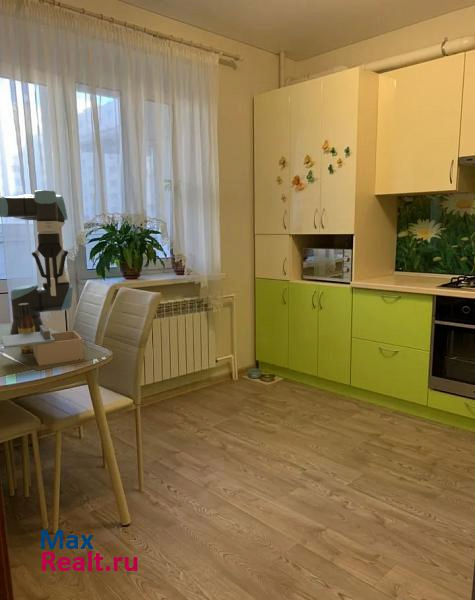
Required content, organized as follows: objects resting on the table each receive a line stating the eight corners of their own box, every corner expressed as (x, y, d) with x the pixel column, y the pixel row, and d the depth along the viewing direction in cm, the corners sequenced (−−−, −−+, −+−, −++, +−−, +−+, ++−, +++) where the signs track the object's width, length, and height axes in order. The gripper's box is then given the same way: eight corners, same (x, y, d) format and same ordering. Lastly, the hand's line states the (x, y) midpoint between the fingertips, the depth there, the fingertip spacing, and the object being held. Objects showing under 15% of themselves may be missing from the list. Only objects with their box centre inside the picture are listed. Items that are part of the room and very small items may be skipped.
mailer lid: (1, 338, 180) (0, 328, 179) (48, 332, 188) (47, 323, 187) (4, 348, 165) (3, 337, 165) (54, 341, 173) (54, 331, 173)
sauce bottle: (31, 348, 196) (26, 301, 192) (40, 350, 193) (36, 302, 189) (16, 352, 190) (12, 304, 187) (26, 354, 187) (22, 305, 184)
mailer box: (33, 355, 186) (32, 335, 185) (75, 349, 194) (74, 330, 192) (39, 365, 172) (37, 344, 171) (84, 358, 180) (82, 338, 179)
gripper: (30, 233, 168) (36, 298, 173) (68, 232, 175) (73, 295, 179) (28, 233, 175) (33, 295, 179) (64, 232, 181) (69, 292, 185)
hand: (53, 295), depth 179 cm, fingers closed
